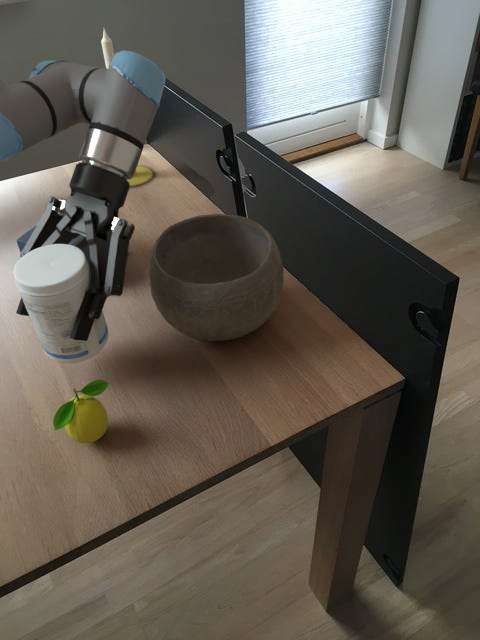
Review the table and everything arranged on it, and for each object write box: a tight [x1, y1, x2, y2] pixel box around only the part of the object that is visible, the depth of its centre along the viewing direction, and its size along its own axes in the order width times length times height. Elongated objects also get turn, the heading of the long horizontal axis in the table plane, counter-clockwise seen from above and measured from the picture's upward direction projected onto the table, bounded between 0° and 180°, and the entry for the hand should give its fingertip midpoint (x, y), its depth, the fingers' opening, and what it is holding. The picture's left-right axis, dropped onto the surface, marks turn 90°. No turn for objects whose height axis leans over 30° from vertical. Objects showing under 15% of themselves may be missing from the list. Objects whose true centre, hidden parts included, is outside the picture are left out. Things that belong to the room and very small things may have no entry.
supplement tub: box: [13, 244, 109, 365], centre depth 75 cm, size 10×10×15 cm
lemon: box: [52, 379, 110, 444], centre depth 70 cm, size 7×6×10 cm
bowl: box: [148, 213, 285, 342], centre depth 85 cm, size 21×21×15 cm
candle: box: [100, 28, 154, 188], centre depth 118 cm, size 10×10×32 cm
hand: (51, 326), depth 74 cm, fingers closed on supplement tub, 9 cm apart
